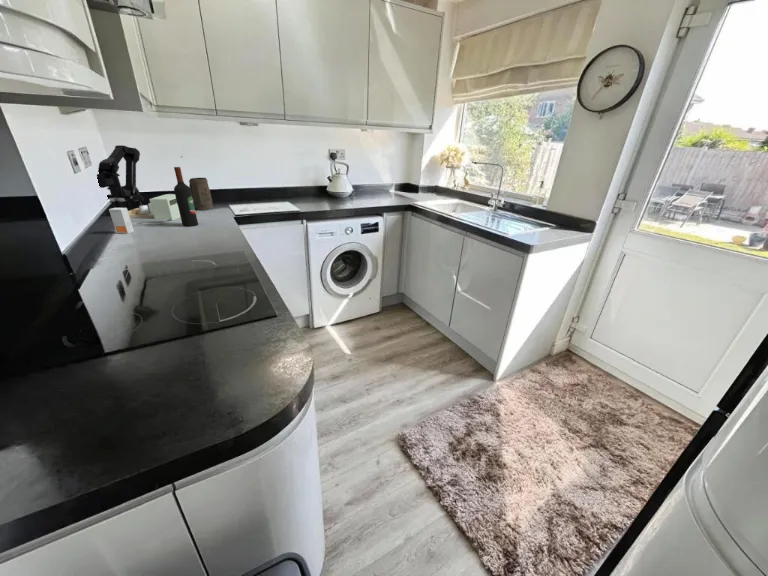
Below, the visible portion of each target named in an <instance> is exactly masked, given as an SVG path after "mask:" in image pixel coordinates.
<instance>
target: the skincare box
mask: <svg viewBox="0 0 768 576" xmlns="http://www.w3.org/2000/svg"><path fill="white" fill-rule="evenodd" d="M108 211H109V215H110V216H111V217H110V218H111V220H112V224H113V226H114V229H115V233H116V234H126V235H127V234H131V233H134V232H135V230H134V226H133V224H132V220H131V217H129V214H128V211H129V210H128V208H127V207H125V208H117V207H113V208H109V209H108Z"/></svg>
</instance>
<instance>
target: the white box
mask: <svg viewBox="0 0 768 576" xmlns="http://www.w3.org/2000/svg"><path fill="white" fill-rule="evenodd" d="M147 206H148V210H149V211H150V213H151V215H154V214H153V210H152V206H151V203H150V202H149V203H148V204H147Z"/></svg>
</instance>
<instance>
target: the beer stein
mask: <svg viewBox="0 0 768 576" xmlns="http://www.w3.org/2000/svg"><path fill="white" fill-rule="evenodd" d="M208 182H209V181H208V179H207V177H192V178H189V180H188V183H189V187H190V189H191V194H192V198H193V203H194V207H195V210H196V209H197V210H196V211H210V210H209V209H211V210H214V208H215V207H214V204H213V198H212V194H211V190H210V187H209V183H208Z"/></svg>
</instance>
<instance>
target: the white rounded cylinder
mask: <svg viewBox="0 0 768 576" xmlns="http://www.w3.org/2000/svg"><path fill="white" fill-rule="evenodd" d="M139 207H140V211H141V214H142V215H148V214H150V213H149V211H150V209H149V206H148V204H145V205H144V204H142V205H141V206H139Z"/></svg>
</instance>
